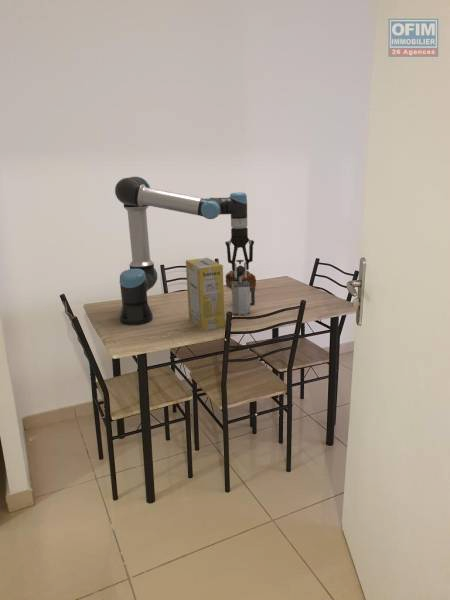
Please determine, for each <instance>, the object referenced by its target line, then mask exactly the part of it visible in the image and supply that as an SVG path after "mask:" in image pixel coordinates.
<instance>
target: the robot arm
mask: <svg viewBox="0 0 450 600" xmlns="http://www.w3.org/2000/svg"><path fill="white" fill-rule="evenodd" d="M114 194H115V196H116V199H117V200H118V201H119V202H120V203H122V204H123V209H125V210H126V211H127V218H128V219H127V220H128V231H129V238H130V239H129V240H130V249H131V250H130V251H131V258H132V260H131V262H130V264H129V269H127V270H123V271H122V272H120V274H119V285H120V294H121V295H120V297H121V304H122V305H121V310H120V314H119V321H120V323H121V324H122V323H123V324H122V325H128V326H138V325H144V324H147V323H149V322H152V321H153V313H152V310H151V307H150V306H149V303H148V293H147V292H148V291H150V290H151V289H152V288H153V287H154V286H155V285H156V283H157V281H158V272H157V270H156V268H155V263H154V262H153V261H152V260H151V253H150V252H151V251H150V242H149V241H150V240H149V239H150V238H149V231H148V230H149V229H148V219H147V218H148V217H147V209H148V208H149V207H154V208H157V209H158V208H159V209H165V210H169V211H173V212H174V211H175V212H180V213H185V214H189V215H190V214H191V215H194V216H199V217H204V218H205V219H206V220H213V219H216V218H217V217H219V216H221V215H230V227H231V228H230V231H231V232H230V234H231V237H230V239H229V240H228V241H225V242H224V244H225V247H226V255H227V262H228V263H229V264H231V271H232V270H233V271H234V277H235V278H237V267H238V266H237V262H236V260H237V254H238V253H237V252H238V250H239V248H240V249H241V248H242V252H243V256H244V262H243V267H244V269H245V271H244V276H245V277H247V271H249V269H250V268H249V267H250V266H249V265H250V263H252V262H253V258H254V257H253V255H254V253H253V252H254V244H255V241H254V239H252V240H251V239H250V238H249V233H248V229H249V228H248V199H247V196H248V195H247V194H246V193H245V192H231V193H230V194H229V196H228V197H206V198H202V197H197V196H193V195H186V194H182V193H176V192H171V191H167V190H161V189H156V188H152V187H151V186H150V183H149V182H148V181H147V180H146V179H145V178H143V177H139V176H129V177H123V178H121V179H120V180H118V182H117V183H116V185H115V187H114ZM247 244H248V245H249V248H248V252H247V248H246V246H247ZM231 245H232V246H233V251H232V254H231ZM248 253H249V254H248Z"/></svg>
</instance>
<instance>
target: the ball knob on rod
mask: <svg viewBox="0 0 450 600" xmlns="http://www.w3.org/2000/svg"><path fill="white" fill-rule="evenodd" d="M244 271H245V269H244V265H238V266H237V273H238V275H239V284H241V283H242V275H243V273H244Z"/></svg>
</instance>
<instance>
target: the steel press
mask: <svg viewBox="0 0 450 600" xmlns="http://www.w3.org/2000/svg"><path fill="white" fill-rule="evenodd" d="M250 290H251V291H250ZM255 290H256V287H255V288H254V287H250V284H249V282H248V281H247V280H245V281H242V283H241V284H239V281H232V288H231V301H232V302H231V306H232V311H231V312H232V315H234V316H242V317H243V316H247V315H251V306H256V304H255V303H256V301H255V300H256V299H255Z"/></svg>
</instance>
